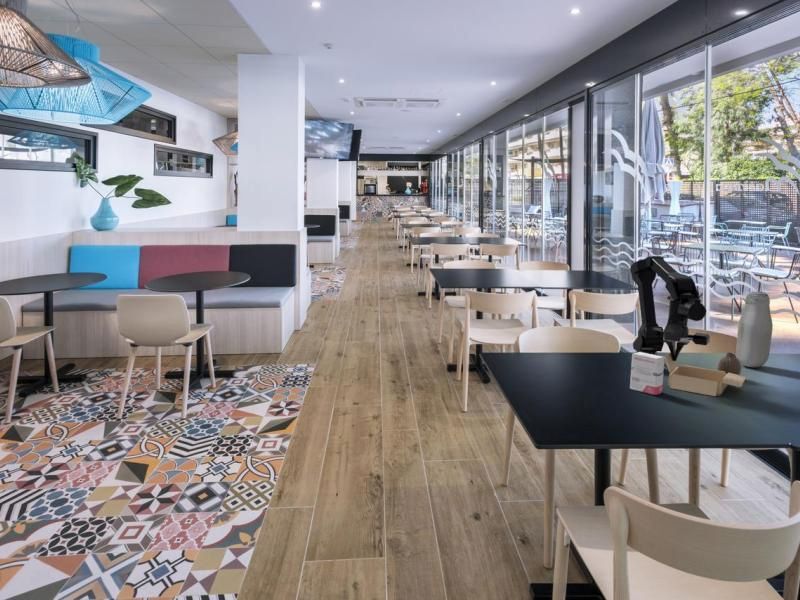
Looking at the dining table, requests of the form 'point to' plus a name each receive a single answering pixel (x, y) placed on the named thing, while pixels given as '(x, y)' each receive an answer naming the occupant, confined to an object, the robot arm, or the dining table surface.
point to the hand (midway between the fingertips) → (674, 360)
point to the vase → (730, 364)
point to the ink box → (647, 373)
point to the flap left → (671, 362)
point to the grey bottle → (754, 331)
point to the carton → (697, 380)
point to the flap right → (734, 379)
